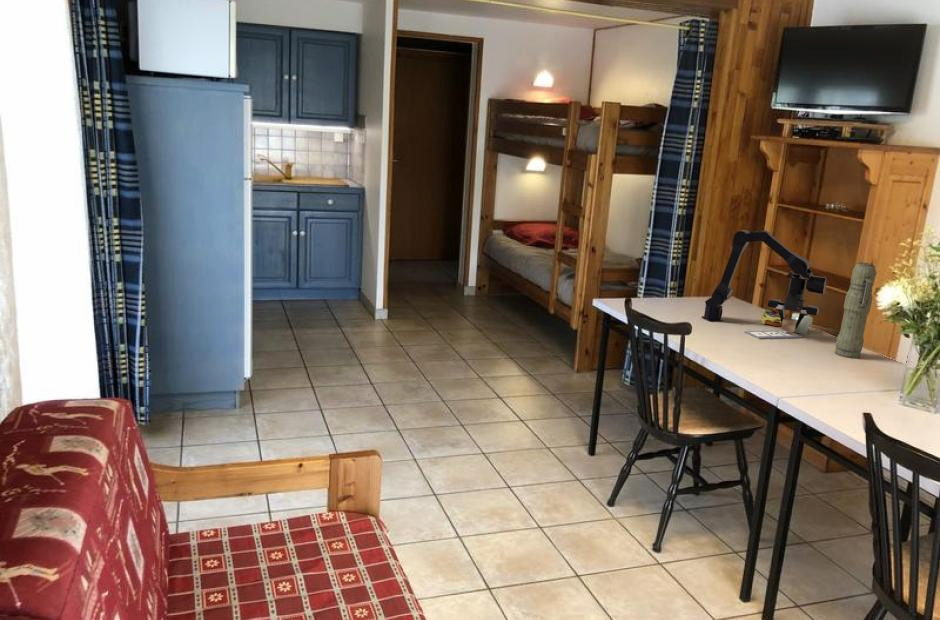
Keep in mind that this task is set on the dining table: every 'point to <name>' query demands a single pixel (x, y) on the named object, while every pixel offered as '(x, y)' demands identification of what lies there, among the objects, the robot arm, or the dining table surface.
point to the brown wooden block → (789, 325)
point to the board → (773, 334)
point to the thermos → (856, 311)
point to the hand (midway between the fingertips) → (789, 327)
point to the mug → (803, 323)
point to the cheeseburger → (773, 317)
